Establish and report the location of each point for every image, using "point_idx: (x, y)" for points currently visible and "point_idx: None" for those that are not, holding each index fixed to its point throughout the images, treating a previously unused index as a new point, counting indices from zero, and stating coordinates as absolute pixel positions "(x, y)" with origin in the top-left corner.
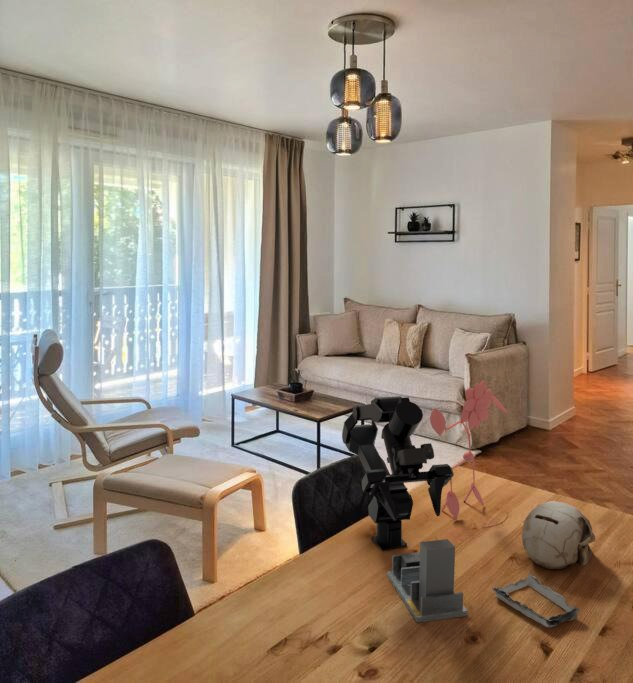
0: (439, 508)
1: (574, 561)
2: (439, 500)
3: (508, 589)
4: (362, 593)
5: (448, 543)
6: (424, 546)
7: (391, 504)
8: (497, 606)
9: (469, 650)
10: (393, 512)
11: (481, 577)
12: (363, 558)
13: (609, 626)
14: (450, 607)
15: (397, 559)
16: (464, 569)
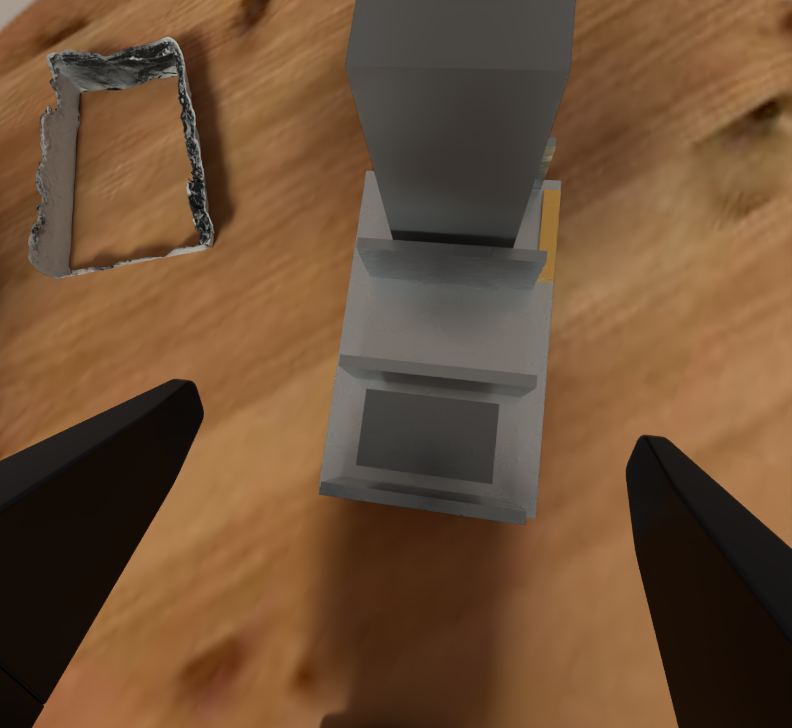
0: (134, 403)
1: None
2: (46, 446)
3: (151, 259)
4: (692, 423)
5: (376, 12)
6: (571, 5)
7: (769, 558)
8: (246, 201)
9: None
10: (701, 480)
11: (178, 372)
12: (581, 716)
13: (33, 45)
14: None
15: (499, 505)
16: (200, 446)
